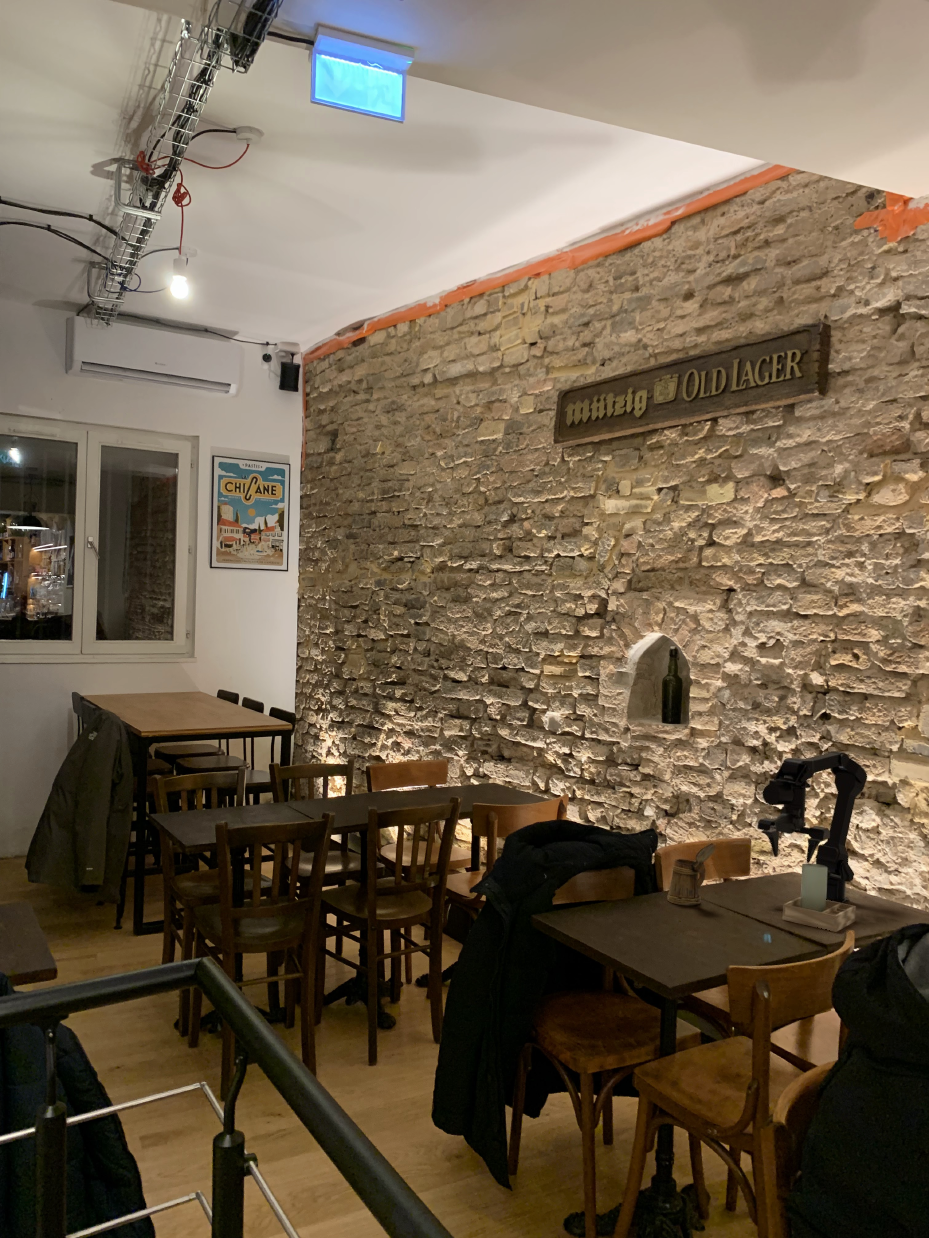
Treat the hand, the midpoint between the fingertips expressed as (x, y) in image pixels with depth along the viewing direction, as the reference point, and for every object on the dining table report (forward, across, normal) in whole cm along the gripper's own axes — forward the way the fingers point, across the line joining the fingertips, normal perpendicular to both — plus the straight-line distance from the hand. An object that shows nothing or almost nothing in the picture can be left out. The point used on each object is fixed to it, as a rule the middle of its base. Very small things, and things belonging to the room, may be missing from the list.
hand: (791, 859), depth 269 cm
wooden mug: (+13, -20, -21) cm, 32 cm away
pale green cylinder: (+12, +9, -8) cm, 17 cm away
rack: (+13, +11, -8) cm, 19 cm away
